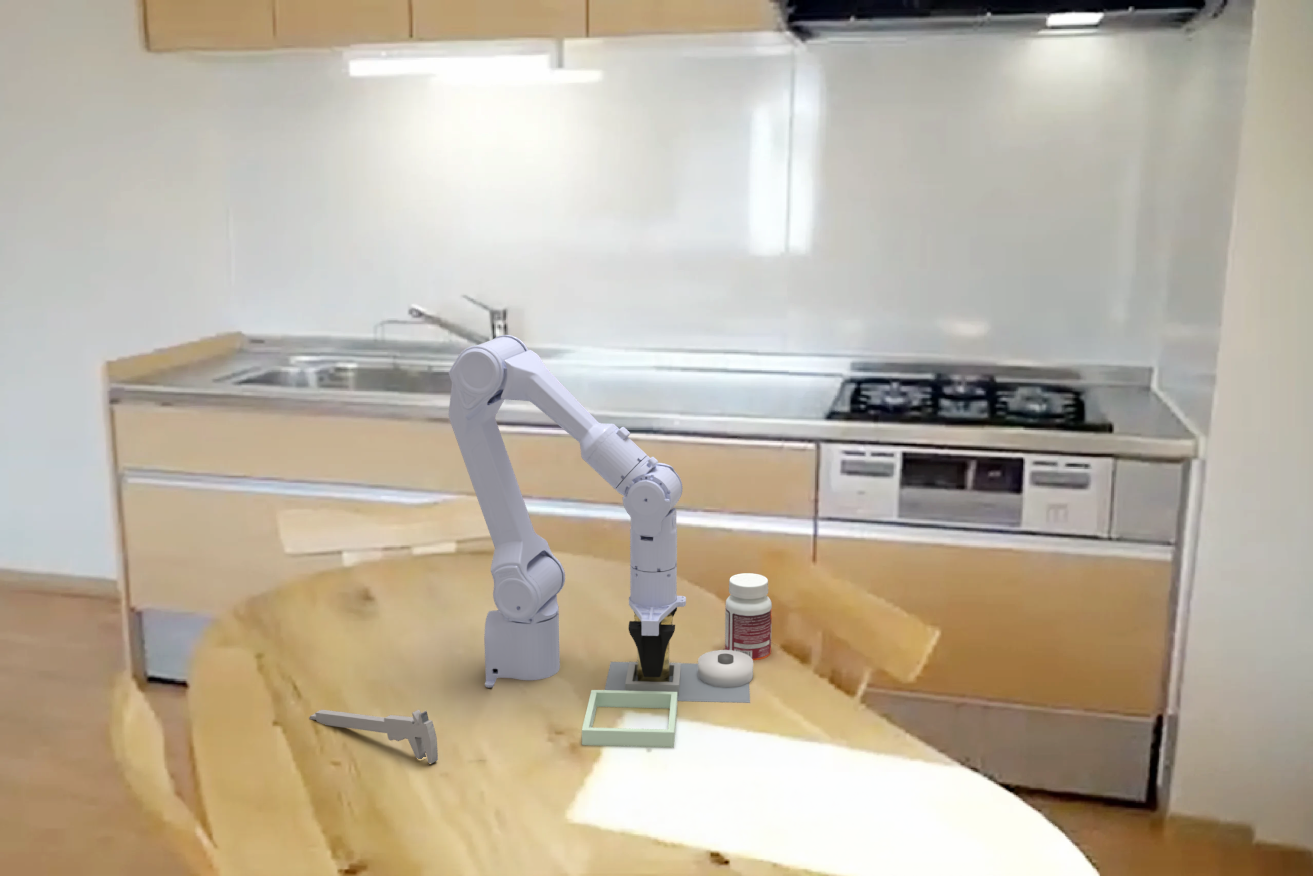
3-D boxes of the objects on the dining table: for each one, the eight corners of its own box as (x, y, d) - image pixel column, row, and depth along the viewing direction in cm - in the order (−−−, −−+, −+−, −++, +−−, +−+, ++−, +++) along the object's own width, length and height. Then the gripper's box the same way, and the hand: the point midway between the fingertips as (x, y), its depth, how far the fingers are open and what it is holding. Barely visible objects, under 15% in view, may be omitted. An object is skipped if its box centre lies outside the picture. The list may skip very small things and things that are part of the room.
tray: (582, 754, 139) (581, 730, 139) (591, 712, 149) (591, 689, 149) (673, 756, 139) (673, 732, 138) (677, 714, 149) (677, 691, 148)
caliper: (438, 764, 138) (436, 713, 136) (431, 768, 137) (429, 716, 135) (315, 717, 149) (312, 669, 147) (308, 720, 148) (305, 672, 147)
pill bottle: (780, 661, 164) (782, 581, 161) (743, 672, 161) (744, 591, 158) (751, 646, 169) (753, 568, 166) (715, 656, 166) (716, 577, 163)
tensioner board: (602, 708, 151) (602, 679, 150) (610, 670, 161) (610, 643, 160) (754, 711, 150) (754, 682, 149) (752, 673, 160) (752, 646, 159)
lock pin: (632, 691, 152) (632, 623, 150) (635, 675, 157) (635, 608, 155) (671, 692, 152) (672, 624, 150) (673, 675, 157) (673, 609, 154)
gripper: (684, 586, 143) (683, 693, 147) (687, 545, 157) (687, 644, 161) (623, 585, 144) (624, 692, 147) (632, 544, 158) (633, 643, 161)
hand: (653, 667), depth 154 cm, fingers closed on lock pin, 4 cm apart
